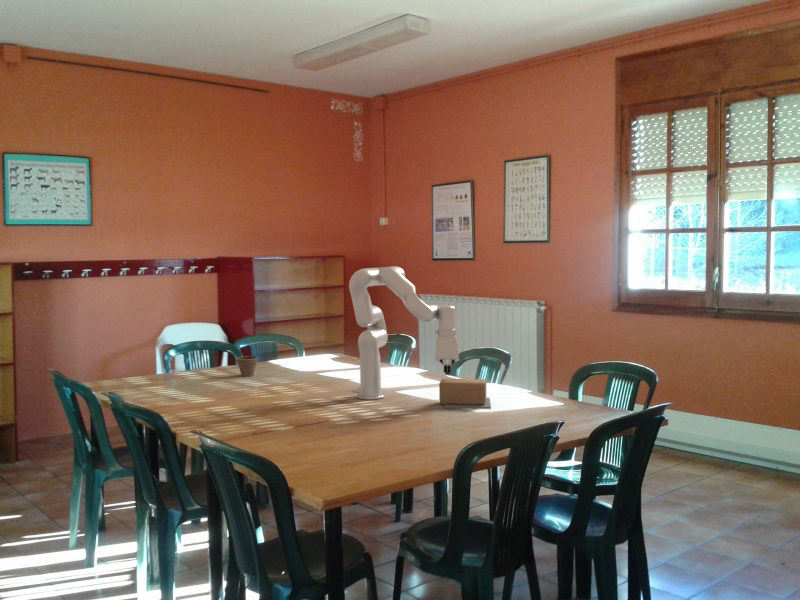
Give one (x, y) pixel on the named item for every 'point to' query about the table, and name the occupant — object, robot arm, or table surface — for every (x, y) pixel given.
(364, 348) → the robot arm
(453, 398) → the wooden block
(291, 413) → the table surface
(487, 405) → the mat
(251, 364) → the flower pot
